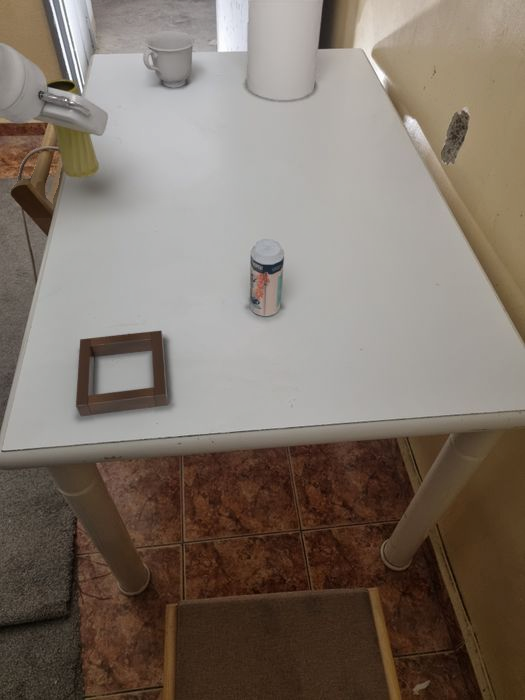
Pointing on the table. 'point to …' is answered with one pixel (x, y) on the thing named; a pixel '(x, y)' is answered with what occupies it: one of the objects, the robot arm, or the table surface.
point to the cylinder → (282, 47)
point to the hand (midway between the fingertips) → (72, 124)
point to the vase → (74, 141)
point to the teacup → (170, 56)
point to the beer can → (266, 277)
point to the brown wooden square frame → (122, 399)
